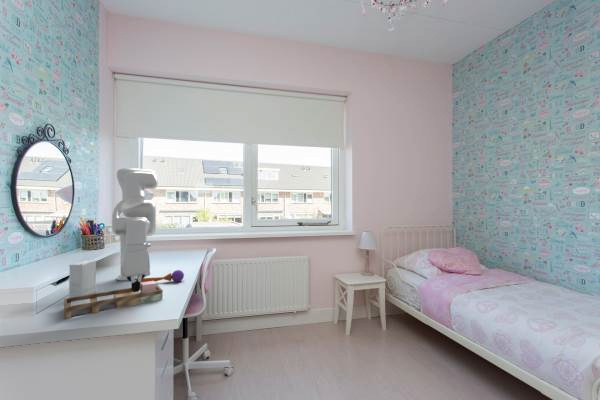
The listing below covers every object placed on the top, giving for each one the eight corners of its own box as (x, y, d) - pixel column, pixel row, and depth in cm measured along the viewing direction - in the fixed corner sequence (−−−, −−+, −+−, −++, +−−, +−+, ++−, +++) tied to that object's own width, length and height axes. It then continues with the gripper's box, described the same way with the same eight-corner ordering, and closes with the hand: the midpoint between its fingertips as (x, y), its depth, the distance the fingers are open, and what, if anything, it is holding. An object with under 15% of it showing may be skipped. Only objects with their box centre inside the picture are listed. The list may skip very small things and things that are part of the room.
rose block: (140, 291, 119) (140, 282, 119) (153, 289, 122) (153, 280, 122) (142, 294, 115) (142, 285, 115) (155, 292, 118) (155, 283, 118)
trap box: (63, 319, 97) (63, 307, 97) (64, 309, 106) (64, 298, 106) (162, 299, 117) (162, 289, 117) (155, 292, 126) (155, 283, 126)
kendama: (141, 275, 141) (183, 269, 149) (142, 287, 140) (184, 280, 148) (139, 275, 136) (183, 269, 143) (139, 288, 135) (183, 281, 142)
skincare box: (83, 292, 126) (84, 259, 126) (96, 292, 125) (97, 259, 126) (67, 298, 117) (68, 263, 117) (81, 298, 117) (82, 264, 117)
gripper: (153, 245, 124) (153, 285, 124) (114, 248, 114) (113, 292, 114) (157, 247, 118) (157, 290, 118) (116, 250, 109) (115, 297, 108)
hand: (135, 291), depth 116 cm, fingers closed
